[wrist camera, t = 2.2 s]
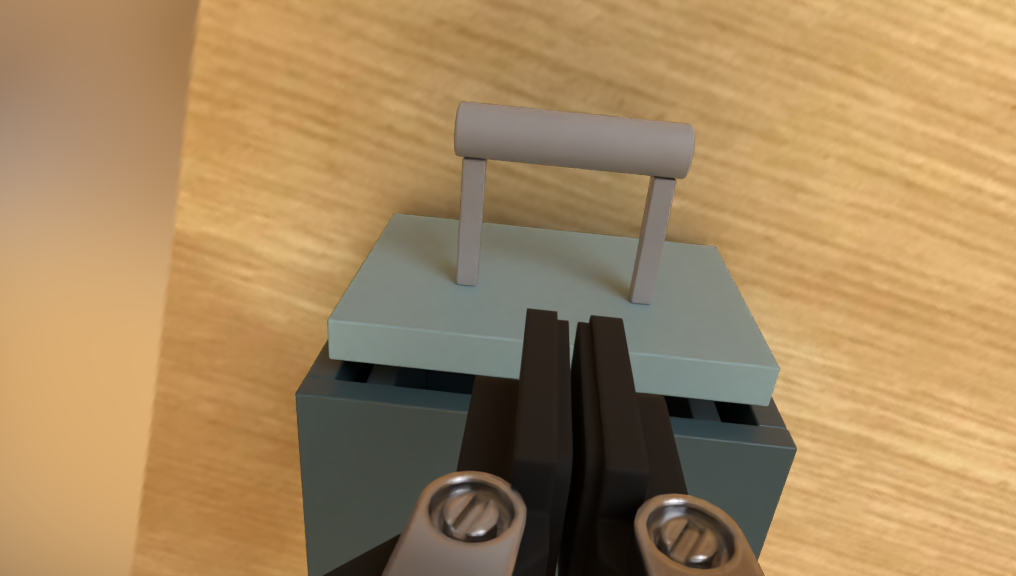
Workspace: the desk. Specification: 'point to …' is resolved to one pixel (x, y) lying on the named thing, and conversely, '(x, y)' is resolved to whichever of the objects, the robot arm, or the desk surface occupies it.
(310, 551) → the drawer cabinet
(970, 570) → the desk surface
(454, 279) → the pull-out drawer
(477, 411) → the robot arm
